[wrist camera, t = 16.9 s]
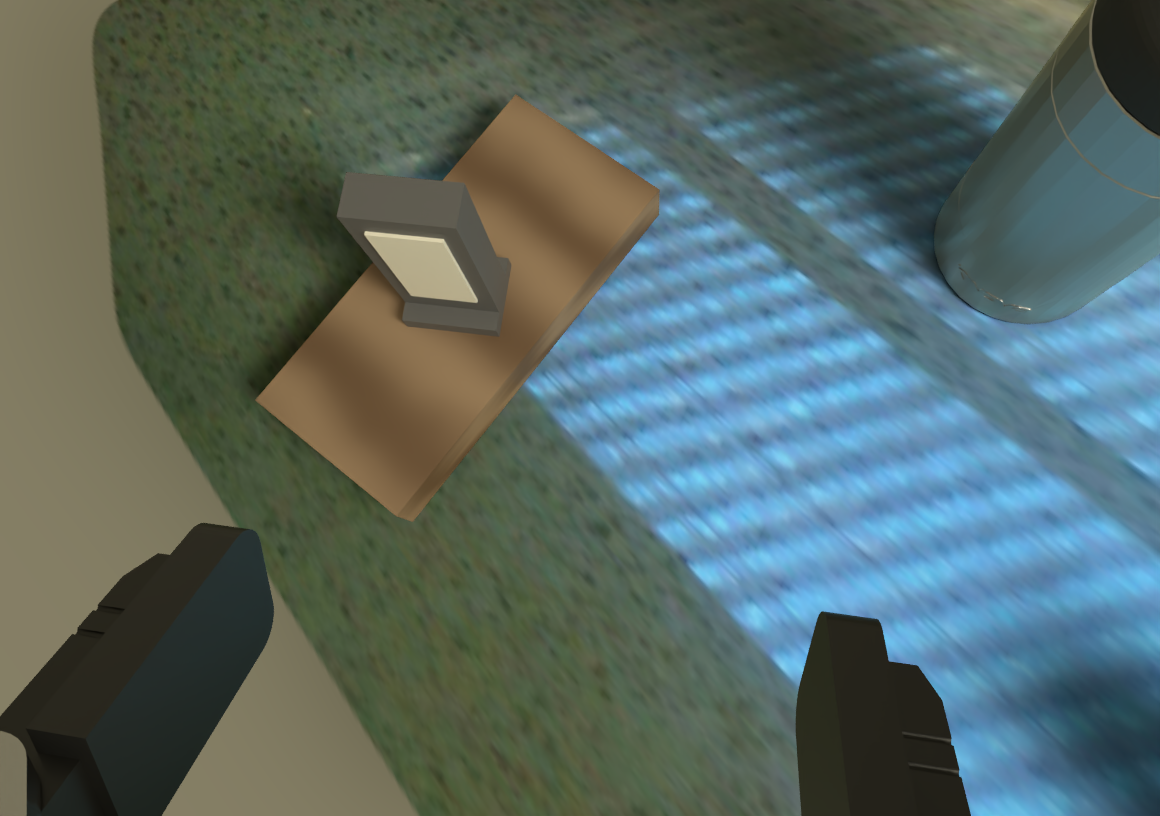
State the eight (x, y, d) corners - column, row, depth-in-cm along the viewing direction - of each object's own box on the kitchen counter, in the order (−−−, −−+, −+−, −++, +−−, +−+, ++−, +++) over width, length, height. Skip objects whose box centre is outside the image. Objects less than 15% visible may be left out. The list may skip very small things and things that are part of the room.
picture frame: (420, 256, 46) (350, 150, 35) (511, 265, 45) (468, 160, 35) (407, 326, 45) (331, 239, 34) (499, 336, 44) (451, 251, 34)
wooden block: (523, 123, 51) (515, 94, 48) (658, 214, 49) (659, 189, 46) (279, 412, 48) (255, 400, 45) (412, 522, 46) (396, 516, 43)
